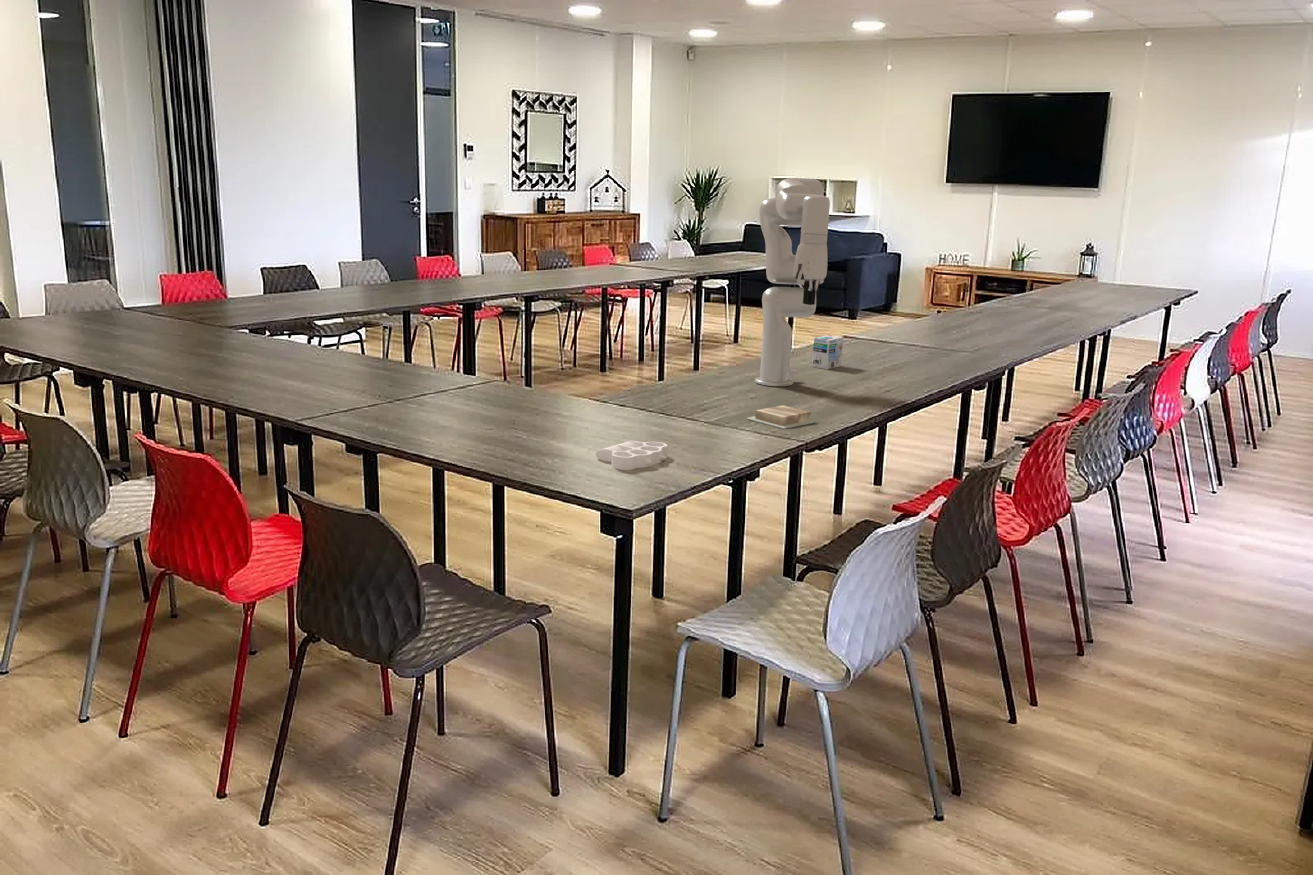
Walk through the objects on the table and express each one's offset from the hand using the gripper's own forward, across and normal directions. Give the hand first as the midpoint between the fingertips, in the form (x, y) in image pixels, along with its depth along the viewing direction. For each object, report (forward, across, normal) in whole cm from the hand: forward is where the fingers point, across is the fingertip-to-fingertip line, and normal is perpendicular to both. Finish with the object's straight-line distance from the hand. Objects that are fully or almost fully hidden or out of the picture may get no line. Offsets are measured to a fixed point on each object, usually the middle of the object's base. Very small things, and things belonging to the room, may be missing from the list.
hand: (808, 304), depth 307 cm
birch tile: (+30, +10, +7) cm, 32 cm away
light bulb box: (+31, -62, -40) cm, 80 cm away
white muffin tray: (+32, +78, +14) cm, 85 cm away
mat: (+31, +18, +7) cm, 36 cm away
